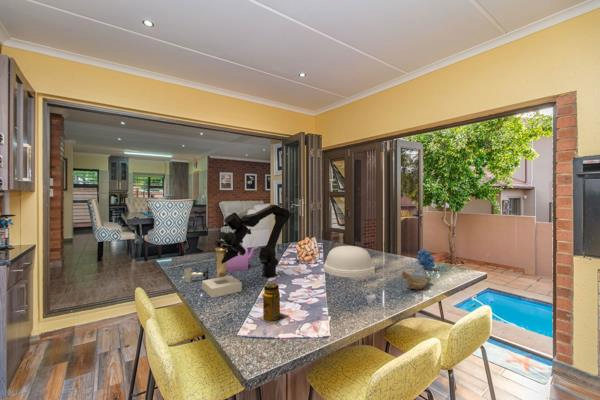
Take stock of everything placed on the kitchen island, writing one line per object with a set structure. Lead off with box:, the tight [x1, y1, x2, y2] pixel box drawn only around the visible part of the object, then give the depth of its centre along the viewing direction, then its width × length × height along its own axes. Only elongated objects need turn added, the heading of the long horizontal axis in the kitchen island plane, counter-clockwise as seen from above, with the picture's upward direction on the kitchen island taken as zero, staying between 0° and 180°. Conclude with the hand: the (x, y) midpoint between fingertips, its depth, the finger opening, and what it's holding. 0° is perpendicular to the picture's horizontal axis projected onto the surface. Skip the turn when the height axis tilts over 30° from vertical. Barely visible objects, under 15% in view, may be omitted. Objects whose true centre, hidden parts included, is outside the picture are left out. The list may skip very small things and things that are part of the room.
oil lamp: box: [401, 270, 432, 290], centre depth 132 cm, size 9×21×10 cm, turn 123°
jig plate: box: [201, 275, 243, 299], centre depth 128 cm, size 14×14×4 cm
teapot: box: [226, 245, 259, 273], centre depth 169 cm, size 15×25×14 cm, turn 106°
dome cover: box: [323, 245, 376, 279], centre depth 163 cm, size 32×30×14 cm
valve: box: [183, 267, 210, 283], centre depth 142 cm, size 7×7×12 cm
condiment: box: [258, 283, 289, 325], centre depth 100 cm, size 7×8×12 cm
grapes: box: [416, 248, 436, 271], centre depth 164 cm, size 12×7×12 cm, turn 32°
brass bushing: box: [215, 246, 227, 278], centre depth 128 cm, size 5×5×13 cm
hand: (218, 262), depth 127 cm, fingers closed on brass bushing, 4 cm apart
